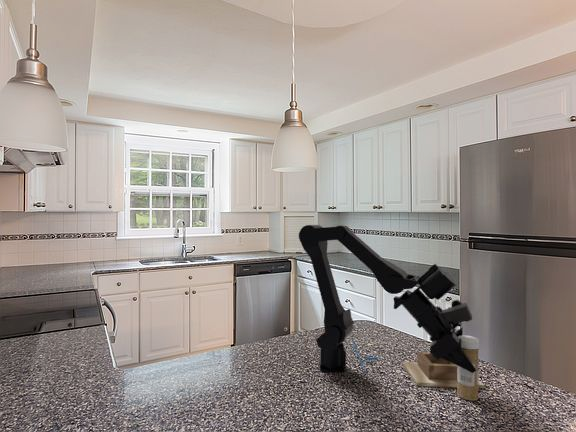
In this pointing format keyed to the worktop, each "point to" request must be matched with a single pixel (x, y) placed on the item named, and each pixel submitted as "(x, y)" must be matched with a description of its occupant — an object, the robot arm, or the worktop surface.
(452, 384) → the bottle stand
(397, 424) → the worktop surface
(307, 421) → the worktop surface
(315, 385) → the worktop surface
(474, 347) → the sprinkles bottle
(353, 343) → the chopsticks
